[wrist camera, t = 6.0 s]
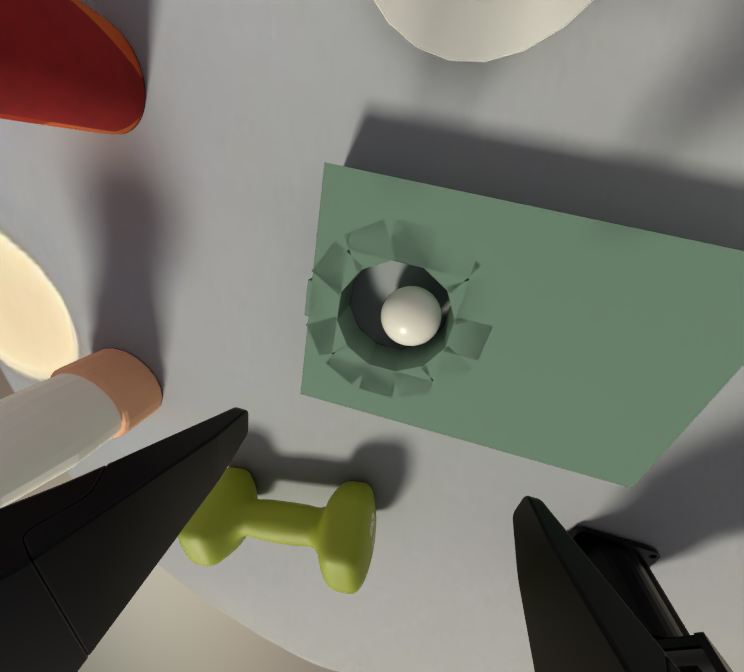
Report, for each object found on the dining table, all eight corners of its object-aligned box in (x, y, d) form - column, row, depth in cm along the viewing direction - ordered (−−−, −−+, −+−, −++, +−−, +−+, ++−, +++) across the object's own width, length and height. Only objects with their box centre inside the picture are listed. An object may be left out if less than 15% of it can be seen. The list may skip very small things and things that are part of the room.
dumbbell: (378, 466, 26) (360, 553, 19) (382, 524, 29) (368, 615, 23) (217, 448, 29) (156, 518, 23) (237, 502, 32) (188, 577, 26)
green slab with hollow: (756, 257, 15) (830, 269, 12) (605, 451, 21) (631, 488, 18) (337, 168, 16) (319, 161, 14) (313, 370, 23) (297, 392, 20)
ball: (388, 273, 18) (443, 285, 18) (376, 324, 20) (427, 335, 20) (388, 290, 15) (455, 304, 15) (374, 350, 16) (435, 362, 17)
